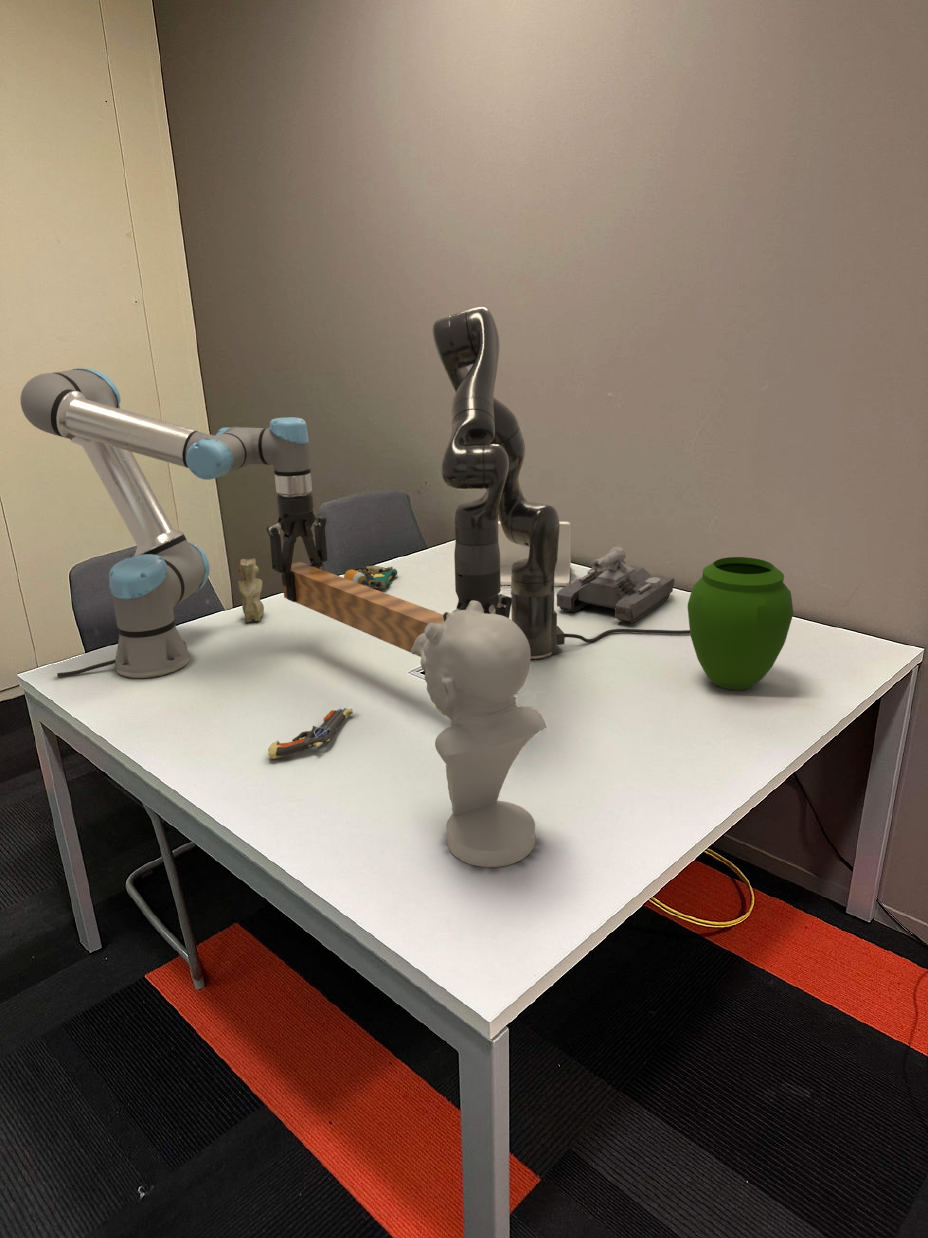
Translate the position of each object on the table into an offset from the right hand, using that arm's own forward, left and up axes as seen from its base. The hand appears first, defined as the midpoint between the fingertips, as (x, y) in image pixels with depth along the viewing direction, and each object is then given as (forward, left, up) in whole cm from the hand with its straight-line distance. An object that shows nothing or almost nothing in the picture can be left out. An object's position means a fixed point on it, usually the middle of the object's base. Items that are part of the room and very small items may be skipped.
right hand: (479, 660), depth 147 cm
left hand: (+29, -50, -2) cm, 58 cm away
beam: (+14, -25, -3) cm, 29 cm away
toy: (-48, -59, -15) cm, 77 cm away
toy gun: (+29, -7, -15) cm, 34 cm away
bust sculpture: (+8, +28, -15) cm, 33 cm away
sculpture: (+41, -73, -15) cm, 86 cm away
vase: (-54, -9, -15) cm, 56 cm away
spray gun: (+9, -94, -15) cm, 96 cm away
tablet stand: (-32, -89, -15) cm, 95 cm away
